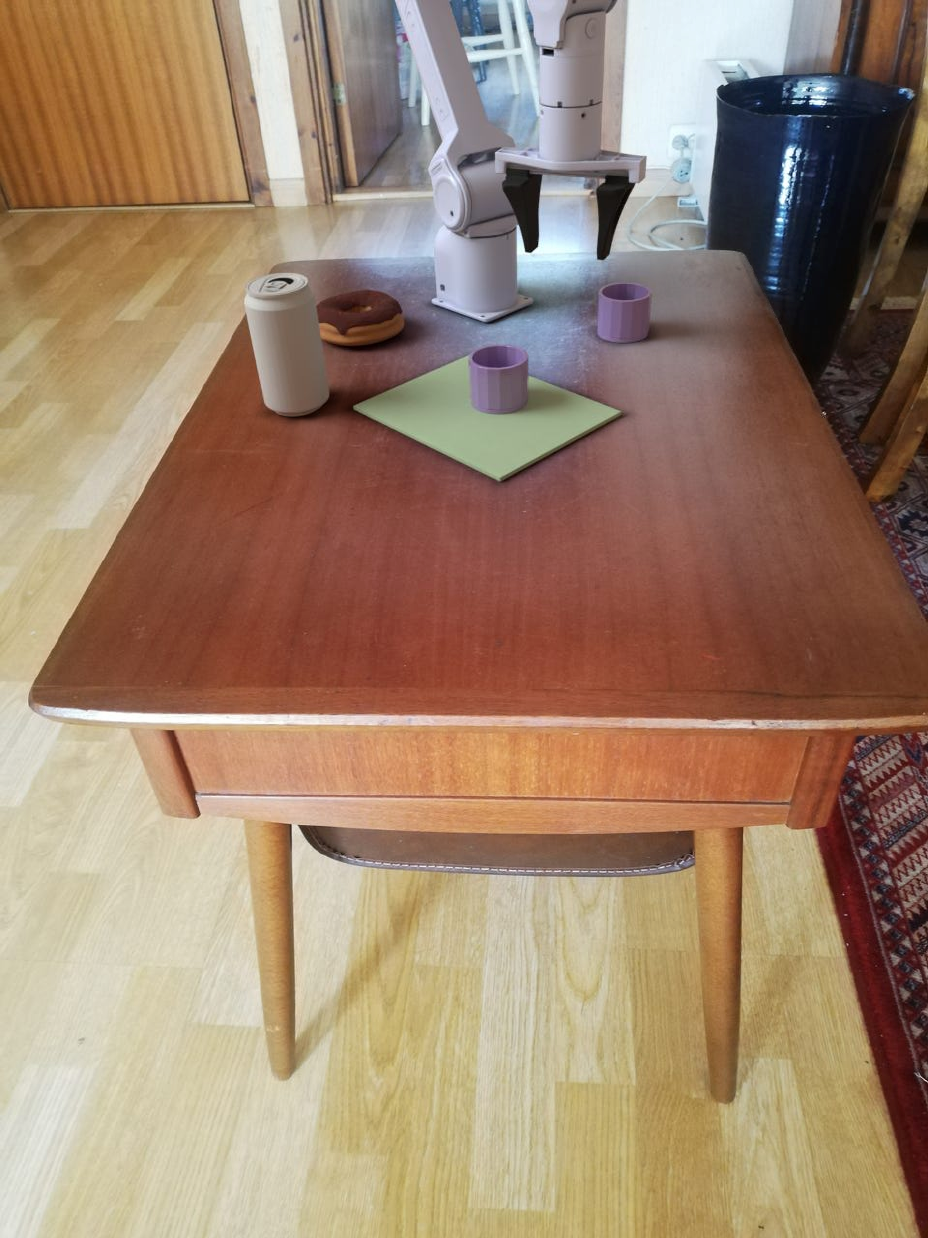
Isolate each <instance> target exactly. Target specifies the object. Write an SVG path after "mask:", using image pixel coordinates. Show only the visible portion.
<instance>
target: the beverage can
mask: <svg viewBox="0 0 928 1238" xmlns="http://www.w3.org/2000/svg"><path fill="white" fill-rule="evenodd" d="M245 292H246V295H245V297H244V300H243V304H244V310H245V314H246V319H247V324H248V329H249V333H250V339H251V344H252V348H253V353H254V358H255V363H256V369H257V375H258V378H259V383H260V388H261V392H262V393H261V394H262V398H263V403H264V405H265V406H266V407H267V408H268V409H269V410H271V411H274V413H275V414H277V415H280V416H283V417H301V416H306V415H309V414H312V413H314V412H316V411H317V410H319V409H320V408H321V407H322V406H323V405H324V404H325V403H326V402H327V401H328V399H329V397H330V387H329V381H328V374H327V368H326V367H327V366H326V361H325V355H324V348H323V343H322V342H323V340H322V339H321V334H320V328H319V321H318V315H317V308H316V306H317V302H316V295H315V292H314V290H313V289H312V287H310V286H309V280H308V278H307V276H306V275H303V274H301V273H295V272H276V273H269V274H265V275H264V274H263V275H260V276H258V277H255V278H253V279H251V280H250V281H248V282H247V283H246V285H245Z"/></svg>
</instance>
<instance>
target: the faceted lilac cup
mask: <svg viewBox="0 0 928 1238" xmlns="http://www.w3.org/2000/svg"><path fill="white" fill-rule="evenodd" d="M597 294H598V295H597V296H598V298H597V315H596V316H597V318H596V333H597V336H598V337H599V338H600V339H602V340H604V341H607V342H611V343H618V344H627V343H628V344H629V343H635V342H639V341H642V340H644V339H645V338H647V337H648V335H649V330H650V322H651V321H650V320H651V310H652V309H651V308H652V298H653V297H652V296H653V292H652V289H651V287H648V286H647V285H645V284H641V283H637V282H614V283H608V284H607V285H604V286H602V287H601V288H599V290H598V293H597Z"/></svg>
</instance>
